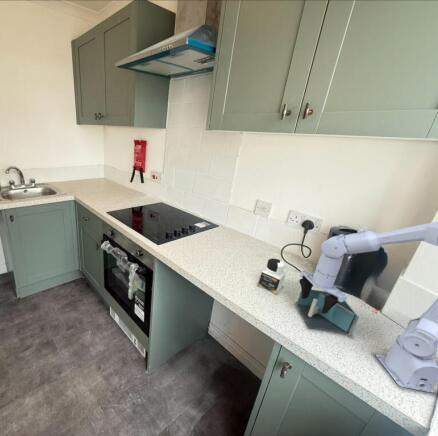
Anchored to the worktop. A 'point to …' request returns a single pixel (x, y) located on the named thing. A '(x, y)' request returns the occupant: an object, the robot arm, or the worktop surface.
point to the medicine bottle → (273, 275)
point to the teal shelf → (332, 313)
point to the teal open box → (320, 321)
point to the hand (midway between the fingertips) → (314, 304)
